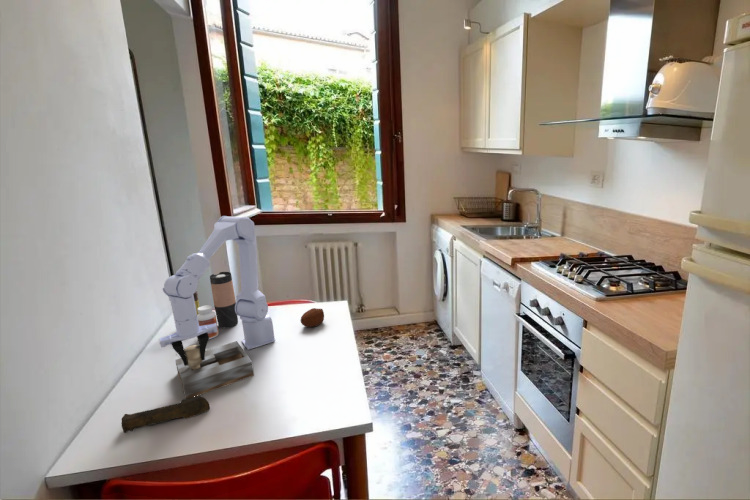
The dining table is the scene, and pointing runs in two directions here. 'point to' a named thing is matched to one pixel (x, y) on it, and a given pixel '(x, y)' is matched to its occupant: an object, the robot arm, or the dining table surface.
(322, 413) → the dining table surface
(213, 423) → the dining table surface
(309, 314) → the potato
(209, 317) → the pill bottle
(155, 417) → the hand tool
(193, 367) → the keyhole peg
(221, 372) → the keyhole plate
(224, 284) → the travel mug
